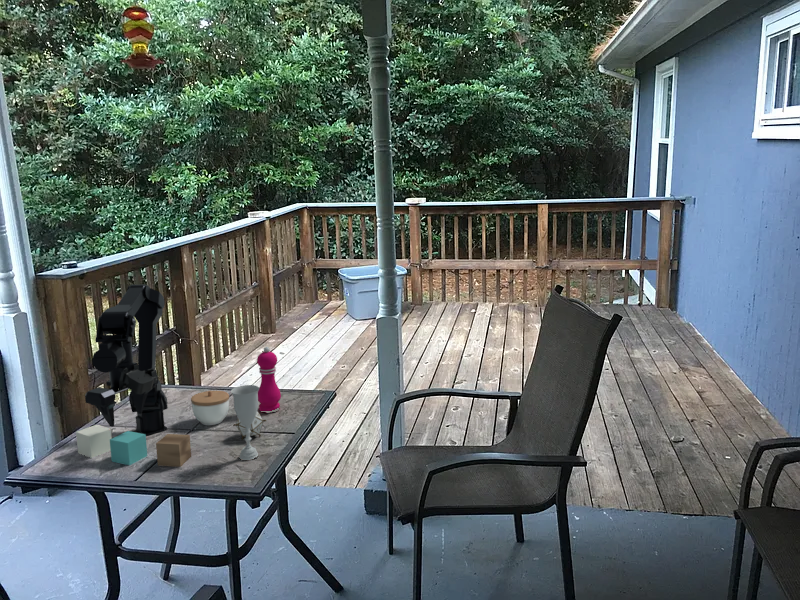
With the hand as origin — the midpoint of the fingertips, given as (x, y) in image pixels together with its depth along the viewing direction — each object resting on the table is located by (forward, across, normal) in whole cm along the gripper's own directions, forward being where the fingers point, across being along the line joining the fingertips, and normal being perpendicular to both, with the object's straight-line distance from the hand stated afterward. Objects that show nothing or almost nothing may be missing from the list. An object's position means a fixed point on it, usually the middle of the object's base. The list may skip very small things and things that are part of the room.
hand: (126, 419), depth 167 cm
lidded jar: (+11, +29, -3) cm, 31 cm away
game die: (+11, +23, -20) cm, 33 cm away
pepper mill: (+11, +43, -14) cm, 46 cm away
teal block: (+10, 0, 0) cm, 11 cm away
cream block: (+11, 0, +12) cm, 16 cm away
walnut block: (+10, +3, -12) cm, 16 cm away
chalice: (+11, +12, -28) cm, 32 cm away
